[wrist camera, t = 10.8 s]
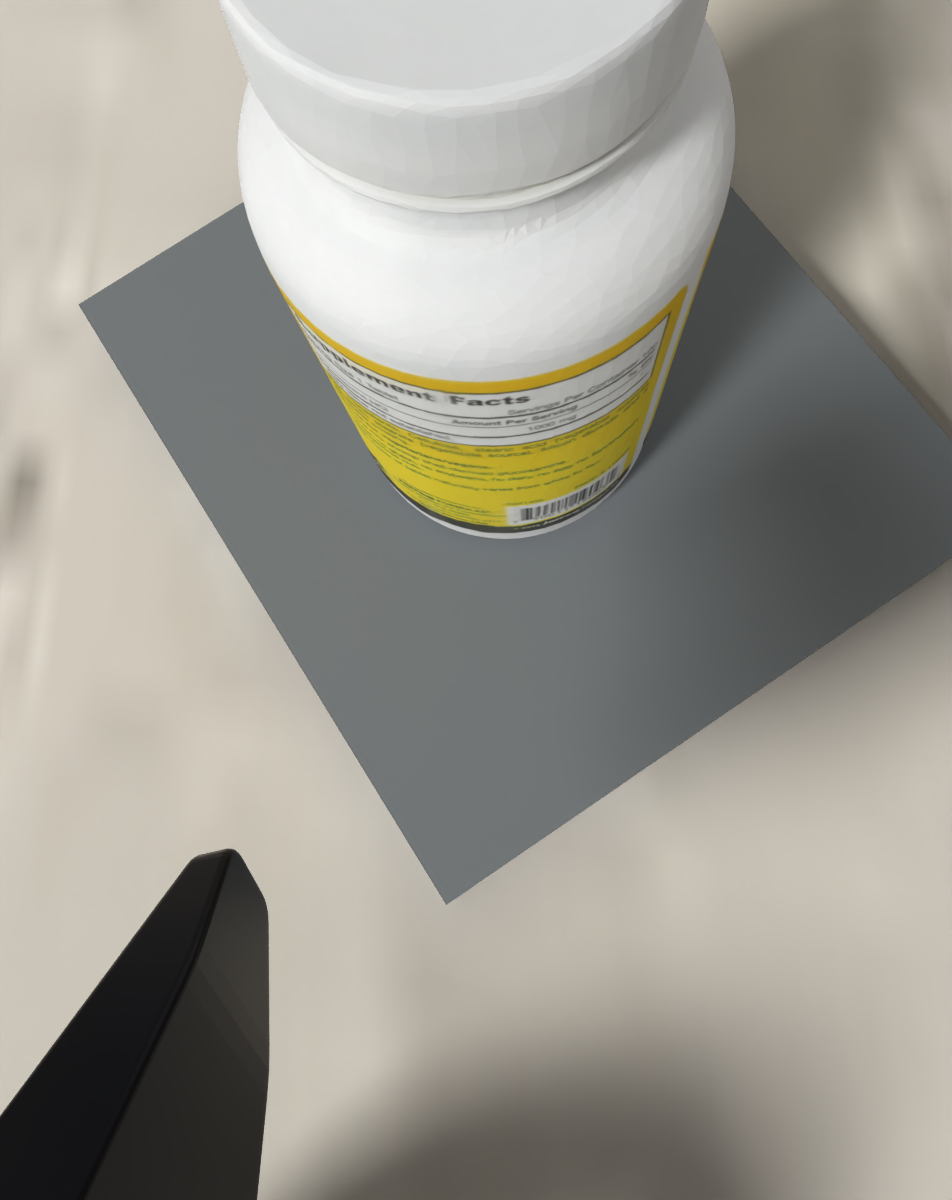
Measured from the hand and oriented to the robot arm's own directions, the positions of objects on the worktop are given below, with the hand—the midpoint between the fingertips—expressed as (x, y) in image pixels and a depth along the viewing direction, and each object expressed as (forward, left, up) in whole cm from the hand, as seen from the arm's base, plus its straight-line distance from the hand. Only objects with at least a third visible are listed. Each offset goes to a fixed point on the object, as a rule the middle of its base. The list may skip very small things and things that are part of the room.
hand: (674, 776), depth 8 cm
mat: (+8, -3, -9) cm, 12 cm away
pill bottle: (+7, -3, -8) cm, 12 cm away
